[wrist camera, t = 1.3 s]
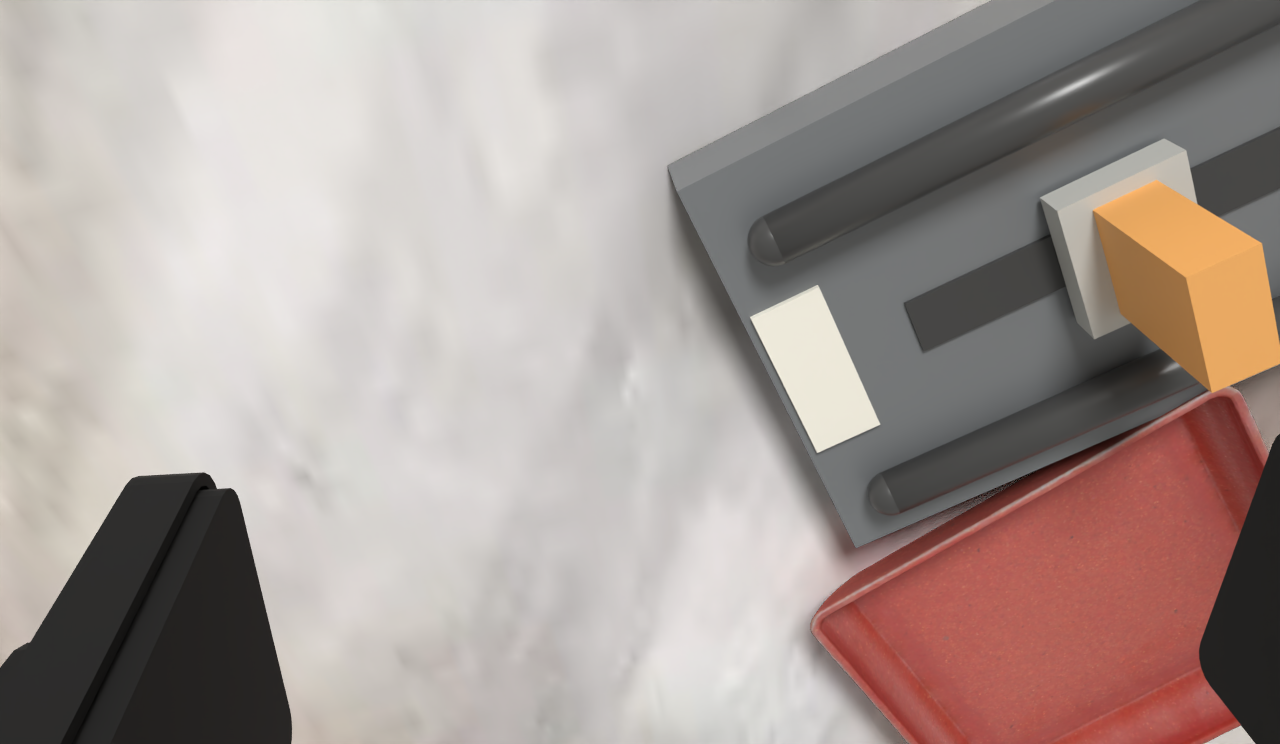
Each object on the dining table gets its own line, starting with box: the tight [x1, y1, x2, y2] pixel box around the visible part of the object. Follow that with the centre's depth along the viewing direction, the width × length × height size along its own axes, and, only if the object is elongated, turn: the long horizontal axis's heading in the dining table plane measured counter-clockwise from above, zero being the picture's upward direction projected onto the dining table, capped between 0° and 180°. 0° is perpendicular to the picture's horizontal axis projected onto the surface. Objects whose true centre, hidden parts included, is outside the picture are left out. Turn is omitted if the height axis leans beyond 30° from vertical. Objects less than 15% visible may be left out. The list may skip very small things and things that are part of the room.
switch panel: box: [668, 0, 1280, 548], centre depth 33 cm, size 24×16×4 cm, turn 117°
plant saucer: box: [810, 386, 1269, 744], centre depth 42 cm, size 18×18×3 cm
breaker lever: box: [1040, 139, 1280, 393], centre depth 29 cm, size 4×5×6 cm
